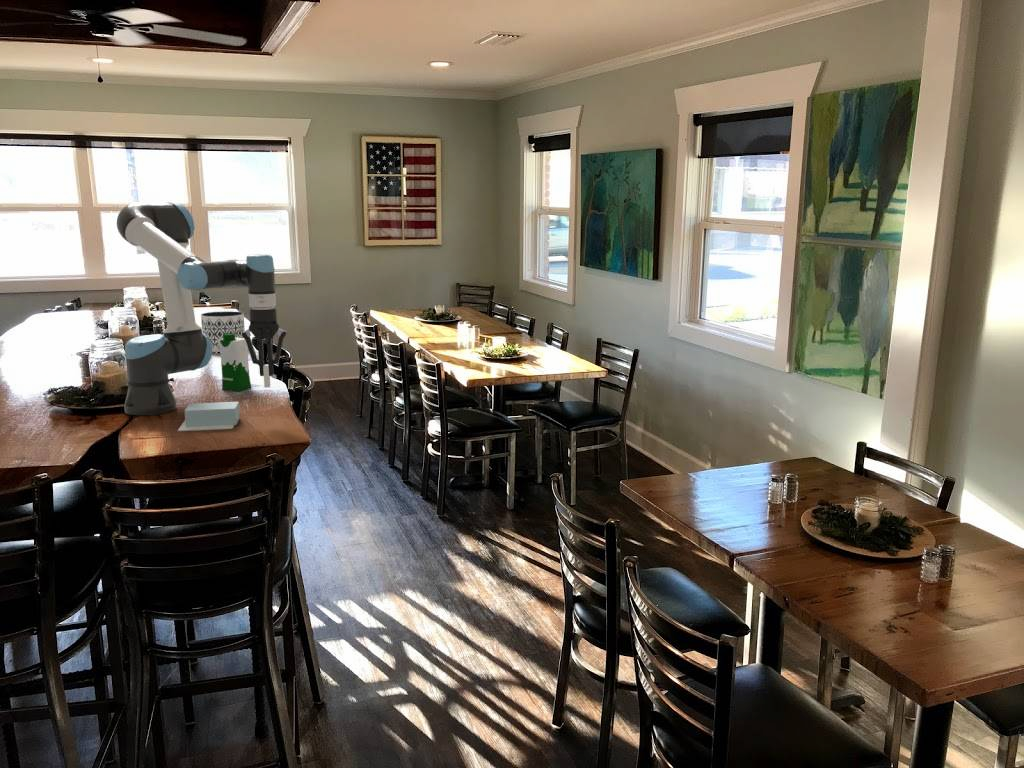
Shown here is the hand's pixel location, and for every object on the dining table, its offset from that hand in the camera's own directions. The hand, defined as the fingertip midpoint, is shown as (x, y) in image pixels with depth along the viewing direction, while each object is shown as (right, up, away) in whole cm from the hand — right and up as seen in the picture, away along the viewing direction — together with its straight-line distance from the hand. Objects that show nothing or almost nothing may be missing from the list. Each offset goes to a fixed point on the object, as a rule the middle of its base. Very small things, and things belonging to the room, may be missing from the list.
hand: (267, 386), depth 241 cm
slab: (-9, -8, 0) cm, 12 cm away
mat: (-17, -11, -1) cm, 20 cm away
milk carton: (-25, -1, +45) cm, 51 cm away
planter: (-57, +16, +124) cm, 138 cm away
